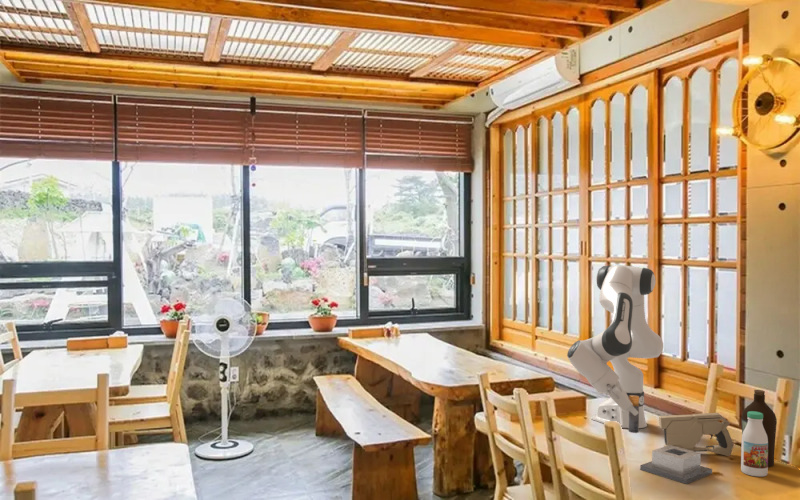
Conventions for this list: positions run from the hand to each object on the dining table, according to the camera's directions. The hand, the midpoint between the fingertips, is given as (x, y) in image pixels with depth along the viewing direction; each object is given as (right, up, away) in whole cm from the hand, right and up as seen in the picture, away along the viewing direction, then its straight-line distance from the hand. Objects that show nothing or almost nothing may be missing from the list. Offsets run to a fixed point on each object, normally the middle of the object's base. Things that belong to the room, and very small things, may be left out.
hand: (635, 412), depth 219 cm
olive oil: (+44, -19, +4) cm, 48 cm away
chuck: (+11, -18, -6) cm, 22 cm away
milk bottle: (+37, -19, -6) cm, 42 cm away
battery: (-1, -7, 0) cm, 7 cm away
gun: (+26, -19, +14) cm, 35 cm away
